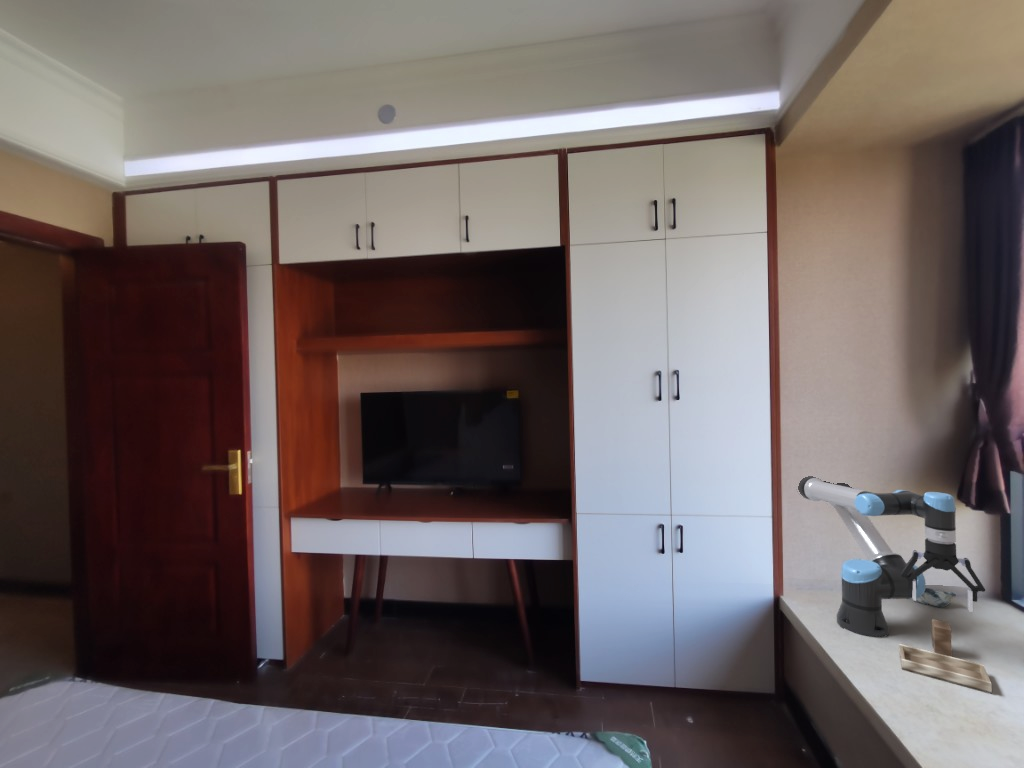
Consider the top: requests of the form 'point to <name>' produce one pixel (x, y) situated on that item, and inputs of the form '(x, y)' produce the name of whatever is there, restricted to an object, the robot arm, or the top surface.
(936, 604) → the seashell
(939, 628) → the tan wooden block
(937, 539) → the robot arm
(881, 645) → the top surface
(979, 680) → the open wooden box
